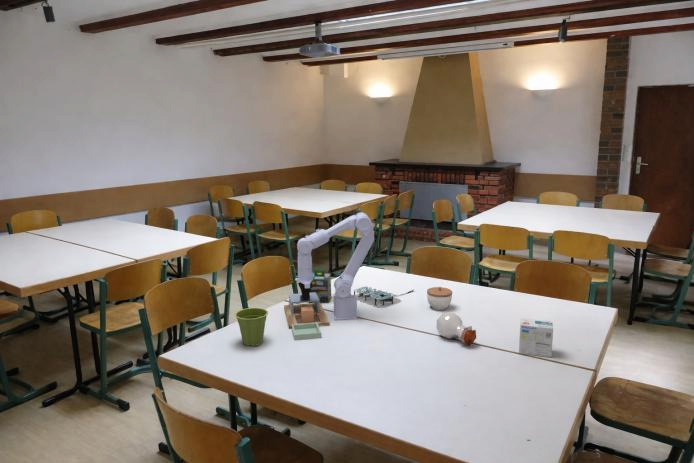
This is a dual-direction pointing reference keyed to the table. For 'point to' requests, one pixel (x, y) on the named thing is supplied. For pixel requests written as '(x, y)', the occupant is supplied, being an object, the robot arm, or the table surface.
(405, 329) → the table surface
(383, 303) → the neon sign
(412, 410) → the table surface
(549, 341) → the light bulb box
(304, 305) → the board
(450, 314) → the potion bottle
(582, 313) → the table surface
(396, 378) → the table surface
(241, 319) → the plant pot
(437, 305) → the lidded jar
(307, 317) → the block
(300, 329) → the tray
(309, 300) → the cover
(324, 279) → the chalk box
